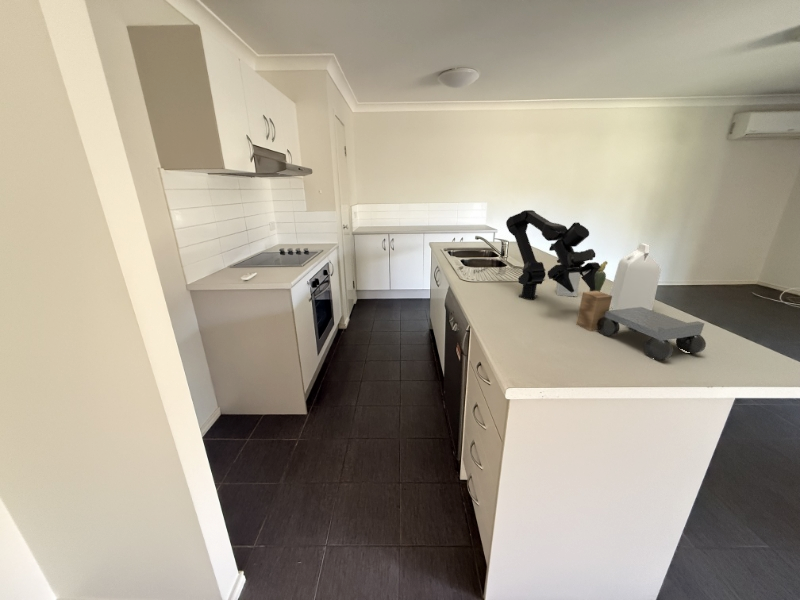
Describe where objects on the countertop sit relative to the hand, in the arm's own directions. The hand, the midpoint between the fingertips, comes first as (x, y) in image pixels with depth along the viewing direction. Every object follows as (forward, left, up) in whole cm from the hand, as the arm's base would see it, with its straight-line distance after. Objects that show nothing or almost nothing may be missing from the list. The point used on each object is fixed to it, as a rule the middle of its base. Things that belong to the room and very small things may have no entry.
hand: (583, 291), depth 111 cm
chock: (+3, +5, -11) cm, 13 cm away
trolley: (+6, +20, -11) cm, 24 cm away
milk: (-26, +13, -12) cm, 31 cm away
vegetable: (-15, +2, -11) cm, 19 cm away
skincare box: (-31, -11, -11) cm, 35 cm away
